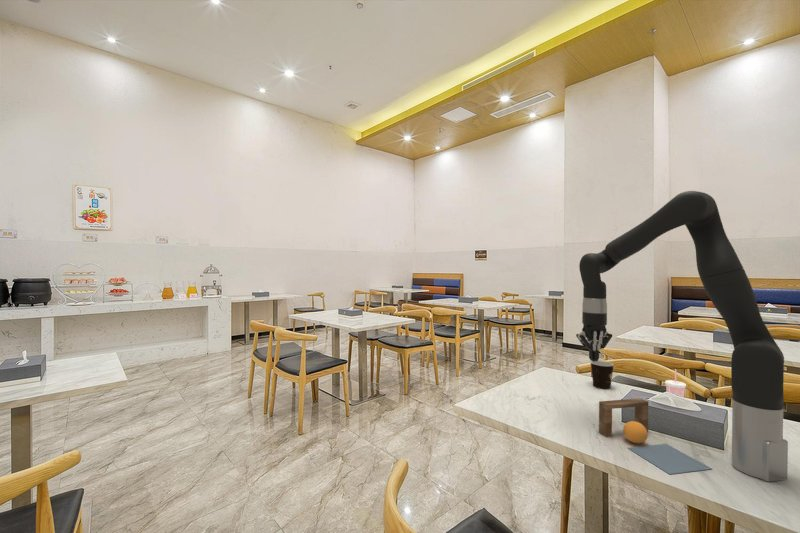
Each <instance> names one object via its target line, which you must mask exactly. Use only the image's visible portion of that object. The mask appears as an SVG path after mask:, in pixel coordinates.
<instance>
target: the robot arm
mask: <svg viewBox="0 0 800 533" xmlns="http://www.w3.org/2000/svg"><path fill="white" fill-rule="evenodd" d="M681 226H682V227H683V226H685V227H686V229H687V231H688V232H689V235H690V236H691V240H692V242H693V243H694V248H695V258H696V259H695V261H696V267H697V268H696V269H697V272H698V276H699V279H700V281H701V284H702V285H703V288H704V291H705V292H706V295H707V296H708V298H709V300H710V301H711V303H712V305H713V307H714V308H715V309H716V310H717V312H718V313H719V315H720V316H721V318H722V319H723V321H724V322H725V326H726V327H727V329H728V332H729V335H730V338H731V341H732V345H733V351H732V353H731V361H730V362H731V365H730V367H731V369H730V370H731V374H730V375H731V376H730V378H731V381H730V382H731V383H730V385H731V387H730V388H731V391H732V392H731V393H732V395H731V396H732V404H731V406H732V408H731V409H732V411H731V412H732V414H731V465H732V467H733V468H735V469H736V470H738V471H739V472H741V473H744V474H746V475H748V476H751V477H754V478H758V479H760V480H763V481H765V482H768V483H769V482H770V483H772V482H779V481H785V480H788V469H789V466H788V463H789V462H788V460H789V459H788V458H789V457H788V454H789V452H788V451H789V450H788V449H789V442H788V440H787V439H784V435H783V434H784V401H785V400H784V398H785V396H784V381H785V380H784V378H785V377H784V375H785V374H784V372H785V370H784V368H785V366H784V365H785V357H784V353H783V351H782V350H781V349H780V347H779V346H778V344H777V342H776V341H775V339H774V338H773V336H772V334H771V332H770V331H769V329H768V328H767V326H766V324H765V321H764V319H763V317H762V315H761V312H760V310H759V305H758V303H757V298H756V296H755V292H754V290H753V288H752V285H751V282H750V279H749V277H748V275H747V273H746V270H745V269H744V266H743V264H742V263H741V261H740V258H739V257H738V254H737V253H736V250H735V249H734V247H733V245H732V243H731V241H730V240H729V238H728V236H727V234H726V231H725V228H724V225H723V222H722V218H721V215H720V212H719V208H718V205H717V203H716V200H715V198H713V197H712V196H711V195H710V194H708V193H706V192H702V191H696V190H686V191H683V192H680V193H679V194H677V195H675V196H674V197H673V198H671V199H670V200H669V201H668V202H666V203H665V204H664V205H663V206H661V207H660V209H658V210H657V211H656V212H655V213H653V214H652V215H651V216H649V217H647V218H646V219H645V220H643V221H642V222H640V223H639V224H637V226H636V225H635V226H634V227H633V228H631V229H630V230H628V231H626V232H625V233H623V234H621V235H620V236H618V237H617V238H615V239H612V240H611V241H610V242H608V243H607V244H606V245H605V248H604V249H602V250H601V251H600V252H598V253H592V252H590V253H586V254H584V255H582V257H581V258H580V261H579V264H578V266H579V273H580V278H581V282H582V284H583V286H582V288H583V291H582V296H583V297H582V298H583V299H582V304H581V305H582V306H581V307H582V309H581V310H582V311H581V312H582V318H581V320H582V321H581V323H582V325H583V326H582V329H581V332H580V333H576V334H575V335H576V338H577V339H578V341H579V342H580V344H581V345H582V346H583V348H585V349H588V358H589V360H590V362H591V361H600V360H599V359H600V350H601V349H605V348H606V347H607V345H608V344H609V342H610V340H611V339H612V338H613V334H612V333H609V332H608V331H607V327H606V326H607V325H608V303H607V284H606V283H605V281H602V277H601V274H604V273H607V272H609V271H610V270H612V269H613V268H614V267H615V266H617V265H619V263H620V262H621V261H623V260H626V259H627V258H630V257H631V256H633V255H635V254H637V253H638V252H640V251H642V250H643V249H644V248H646V247H647V246H648V245H649V244H651V243H652V242H653V241H655V240H656V239H657V238H659V237H660V236H662V235H664V234H666V233H668V232H670V231H672V230H674V229H677V228H680V227H681Z"/></svg>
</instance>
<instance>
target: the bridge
mask: <svg viewBox="0 0 800 533" xmlns="http://www.w3.org/2000/svg"><path fill="white" fill-rule="evenodd" d="M625 408H634V421H636V422H639V423H641V424H642V425H643V426H644V427H645V428H646V430H647V433H648V434H649V401H648V400H645V399H644V398H643V399H642V398H640V397H639V398H630V399H629V398H628V399H627V398H626V399H625V398H624V399H615V400H602V401H601V400H600V401H598V433H599V434H600V435H602V436H604V437H605V438H608V437H609V438H611V437H612V436H613V435H612V434H613V409H625Z"/></svg>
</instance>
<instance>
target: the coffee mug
mask: <svg viewBox="0 0 800 533" xmlns="http://www.w3.org/2000/svg"><path fill="white" fill-rule="evenodd" d="M614 366H615V365H614V364H613V363H611V362H608V361H603V360H598V361H591V360H590V368H591V369H590V370H591V377H592V384H593V387H594V388H596V389H599V390H610V389H611V387H612V379H613V372H614Z"/></svg>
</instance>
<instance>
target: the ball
mask: <svg viewBox="0 0 800 533" xmlns="http://www.w3.org/2000/svg"><path fill="white" fill-rule="evenodd" d="M622 430H623V435H624V436H625V437H626V439H627V440H628V441H629V442H631V443H634V444H643V443H645V442H646V441H647V439H648V435H649V432H648V433H647V430H646V428H645V427H644V426H643V425H642V424H641V423H639V422H636V421H635V420H631V421H628V422H626V423H625V424H624V426H623V429H622Z"/></svg>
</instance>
